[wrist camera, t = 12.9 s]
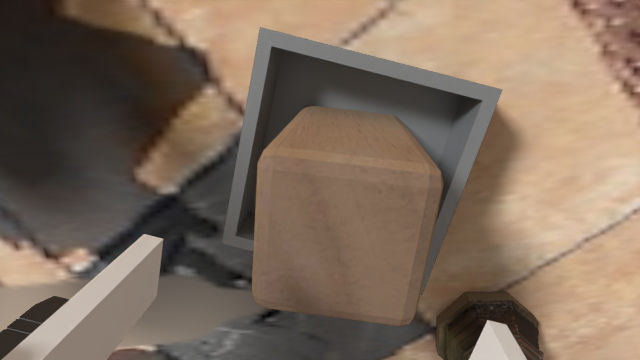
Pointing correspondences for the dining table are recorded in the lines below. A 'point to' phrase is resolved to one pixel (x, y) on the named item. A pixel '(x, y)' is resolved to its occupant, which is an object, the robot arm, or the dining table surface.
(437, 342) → the bird statue
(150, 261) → the robot arm
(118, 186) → the dining table surface
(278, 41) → the box
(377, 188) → the block
